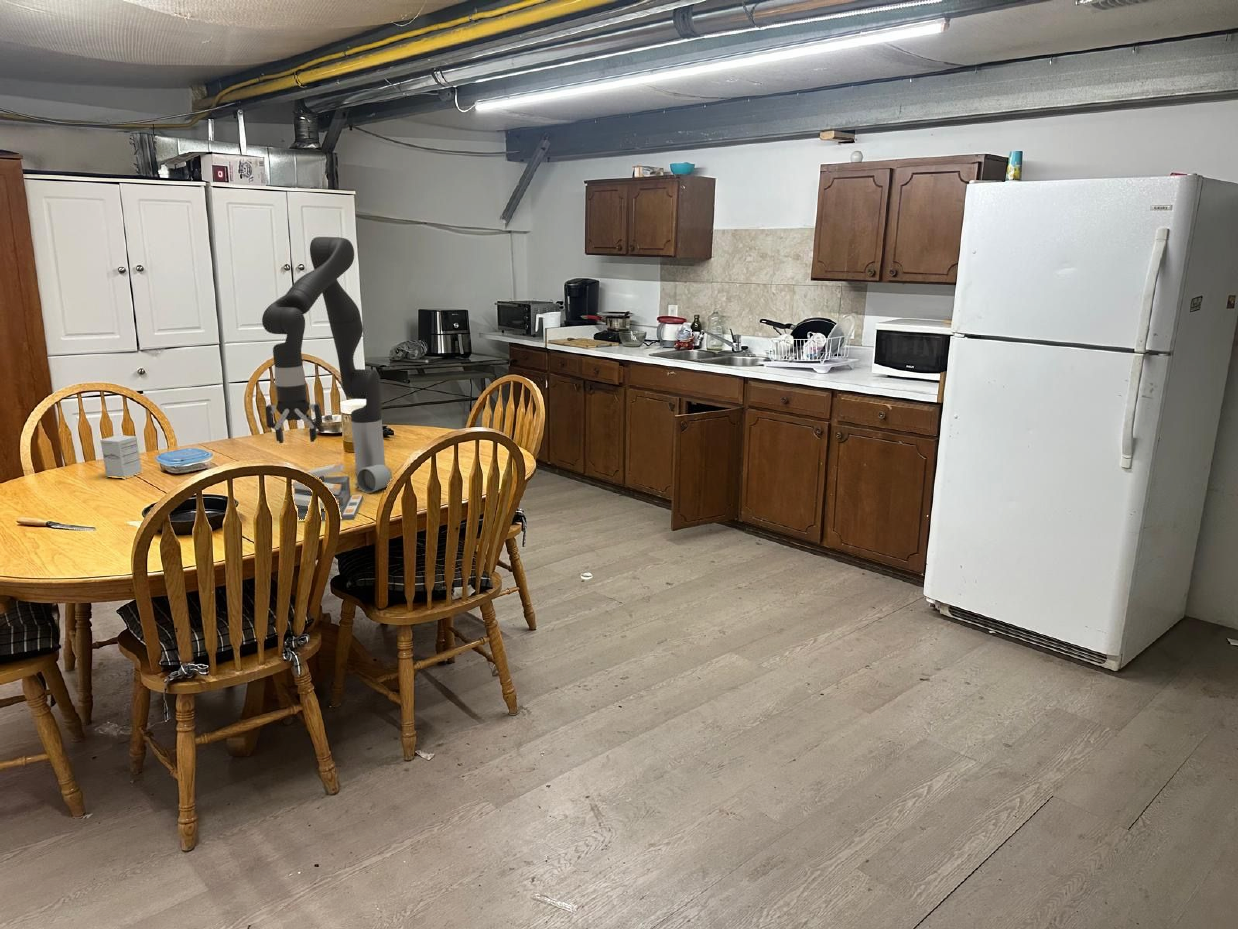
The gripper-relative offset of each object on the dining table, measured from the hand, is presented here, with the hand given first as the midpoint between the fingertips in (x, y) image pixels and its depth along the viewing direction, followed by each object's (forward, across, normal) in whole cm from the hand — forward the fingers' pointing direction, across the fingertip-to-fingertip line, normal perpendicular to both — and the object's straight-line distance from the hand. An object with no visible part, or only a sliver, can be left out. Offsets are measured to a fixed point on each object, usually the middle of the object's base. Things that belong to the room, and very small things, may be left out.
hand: (297, 441), depth 233 cm
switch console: (+20, -6, 0) cm, 21 cm away
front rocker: (+15, -4, +6) cm, 17 cm away
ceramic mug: (+20, -16, -18) cm, 32 cm away
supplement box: (+20, +63, -45) cm, 80 cm away
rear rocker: (+10, -4, -6) cm, 13 cm away
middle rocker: (+13, -4, 0) cm, 14 cm away
